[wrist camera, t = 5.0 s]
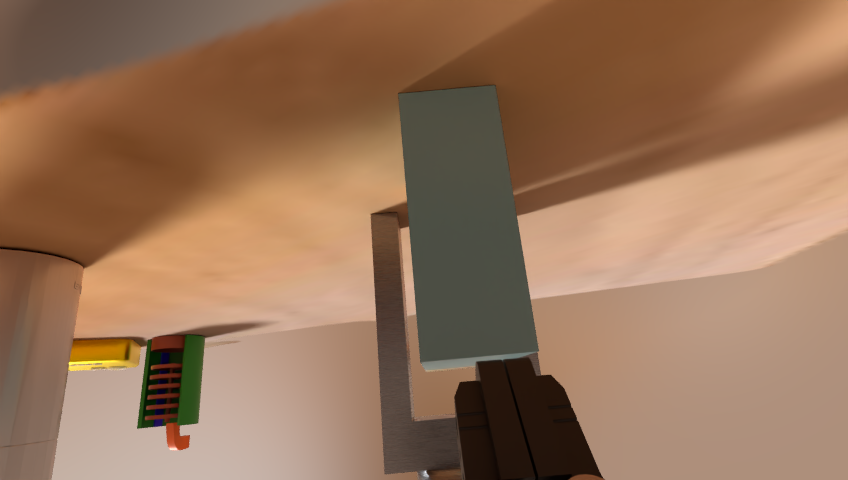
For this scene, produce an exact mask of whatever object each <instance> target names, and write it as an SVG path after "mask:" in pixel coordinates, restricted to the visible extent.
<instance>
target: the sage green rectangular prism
mask: <svg viewBox="0 0 848 480" xmlns="http://www.w3.org/2000/svg"><path fill="white" fill-rule="evenodd" d="M398 97H399V109H400V121H401V133H402V145H403V157H404V169H405V181H406V194H407V206H408V218H409V230H410V242H411V254H412V266H413V278H414V291H415V303H416V315H417V326H418V338H419V351H420V362H421V364H422V366H423V367H424V369H425V371H426V372H431V371H442V370H453V369H464V368H475V365H476V361H487V360H499V359H501V360H502V361H503V359H513V358H520V357H523V356H526V355H529V354H532V353H535V352H538V351H539V349H538V343H537V337H536V330H535V325H534V319H533V312H532V306H531V300H530V294H529V288H528V282H527V275H526V269H525V263H524V257H523V251H522V245H521V239H520V233H519V226H518V220H517V214H516V208H515V202H514V196H513V190H512V184H511V178H510V171H509V165H508V159H507V153H506V147H505V141H504V135H503V129H502V122H501V116H500V110H499V104H498V98H497V92H496V86H495V85H491V86H480V87H468V88H457V89H446V90H434V91H423V92H412V93H400V94H398Z"/></svg>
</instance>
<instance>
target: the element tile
mask: <svg viewBox="0 0 848 480" xmlns="http://www.w3.org/2000/svg"><path fill="white" fill-rule="evenodd" d="M140 350H141V346H139V345H138V344H137V343H136V342H135V341H133V340H130V339H105V340H75V341H73V343H72V349H71V356H70V362H69V369H68V371H75V370H93V371H96V370H106V369H109V370H124V369H127V368H129V367H136V366H138V365H139V359H140Z"/></svg>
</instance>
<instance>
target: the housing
mask: <svg viewBox="0 0 848 480" xmlns="http://www.w3.org/2000/svg"><path fill="white" fill-rule="evenodd" d="M371 229H372V248H373V266H374V285H375V304H376V322H377V341H378V359H379V378H380V396H381V414H382V434H383V452H384V468H385V469H384V471H385V474H391V473H392V474H393V473H404V472H413V471H417V476H418V480H462V475H461V467H460V459H459V451H458V443H457V435H456V418H455V414H445V415H435V416H424V417H414V404H413V391H412V378H411V364H410V351H409V337H408V324H407V311H406V298H405V284H404V271H403V258H402V244H401V231H400V225H399V221H398V216H397V212H394V213H383V214H372V215H371ZM525 357H529V358H530V360H531V362H532V365H533V368H534V370H535V373H536V376H541V372H540V366H539V360H538V353H537V352H535V353H532V354H529V355H526V356H523V357H520V358H525Z"/></svg>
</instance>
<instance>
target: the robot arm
mask: <svg viewBox="0 0 848 480" xmlns="http://www.w3.org/2000/svg"><path fill="white" fill-rule="evenodd" d="M83 271H84V269H83V267H82V266H81V265H80V264H78V263H75V262H73V261H70V260H67V259H64V258H60V257H56V256H52V255H46V254H41V253H34V252H26V251H17V250H5V249H0V480H51V478H52V472H53V465H54V459H55V452H56V446H57V438H58V433H59V427H60V420H61V414H62V407H63V401H64V394H65V388H66V382H67V375H68V369H69V362H70V356H71V349H72V343H73V337H74V330H75V324H76V317H77V310H78V304H79V297H80V294H81V288H82V286H81V284H82V278H83ZM475 368H476V381H467V382H460V383H459V386H458V389H457V391H456V394H455V397H454V399H455V418H456V435H457V443H458V451H459V459H460V467H461V475H462V480H605V479H603V477H602V476H601V473H600V472H599V469H598V467H597V465H596V462H595V460H594V458H593V455H592V453H591V450H590V448H589V446H588V444H587V441H586V439H585V436H584V434H583V432H582V429H581V427H580V425H579V422H578V421H577V417H576V415H575V413H574V411H573V408H571V403H570V401H569V399H568V396H567V394H566V392H565V389H564V388H563V387H562V386H561V385H560V384H559V383H558V382H557V381H556V380H555V379H554V378H553V377H552V376H551V375H541V376H536V373H535V370H534V368H533V365H532V362H531V360H530V358H529V357H525V358H513V359H503V361H502V360H501V359H499V360H487V361H476V365H475Z"/></svg>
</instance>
